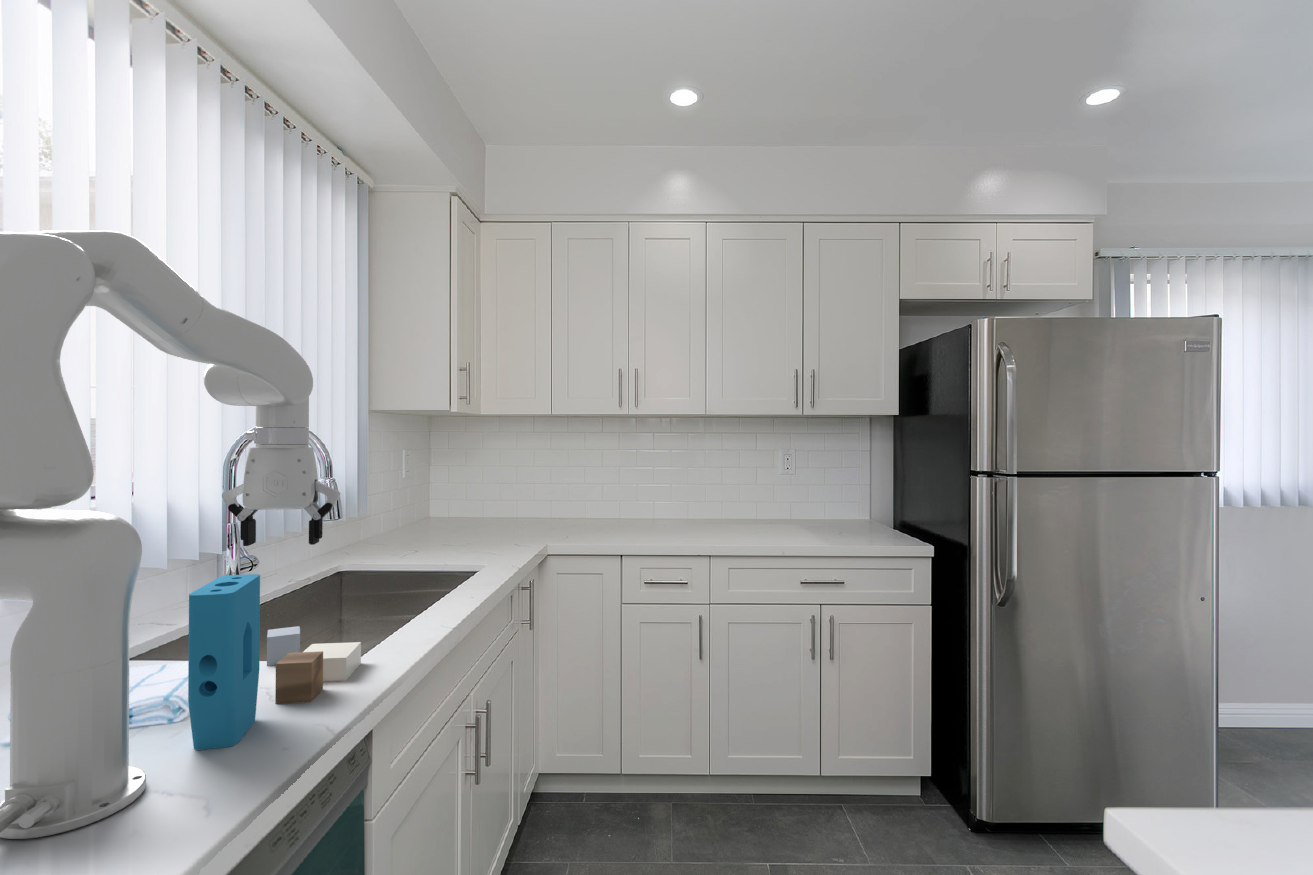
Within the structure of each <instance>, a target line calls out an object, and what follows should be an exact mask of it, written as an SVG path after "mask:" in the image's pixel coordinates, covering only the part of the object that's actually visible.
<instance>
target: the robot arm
mask: <svg viewBox="0 0 1313 875" xmlns="http://www.w3.org/2000/svg"><path fill="white" fill-rule="evenodd" d="M86 307H96V308H99V309H101V310H104V311H106V312H107V313H109V314H110V315H111V316H113V317H114V318H115V319H117V320H118V321H120V322H121V323H123V324H124V325H125V326H126V327H128V328H129V329H131V330H132V331H133V332H135V333H136V334H138V336H140V337H142V338H143V339H145V341H147V342H148V343H150V344H151V345H152V346H153V347H155V348H156V349H157V350H159V351H161V352H163V353H165V354H168V355H170V356H172V357H173V356H174V357H176V358H180V359H184V360H187V361H191V362H192V361H193V362H197V363H201V364H202V363H203V364H208V365H207V368H206V369H205V371H204V375H203V383H204V384H203V385H204V388H205V390H206V392H207V393H208V394H209V396H210V397H212V399H214V400H215V401H216V402H217V401H218V403H221V404H224V405H228V406H238V407H240V406H241V407H245V406H246V407H255V427H254V429H253V430H252V431H247V432H246V434H245V438H246V440H250V441H253V444H255V446H253V447H252V446H251V447H249V449H248V451H247V457H246V461H245V462H246V463H245V468H244V474H243V482H242V484H239V485H237V486H235V487H233V488H231V489H229V490H227V491H225V492H223V493H222V494H221V498H222V499H223V502H224V503H225V505H226V506H227V509H228V511H229V512H231V513H232V515H234V516H235V517H236V519H237V521H238V522H239V523H240V525H239V526H240V532H239V533H240V540H241V541H242V546H243V547H249V546H251V545H253V544H256V542H257V521H256V519H255V518H254V516H255V514H256V513H257V512H258V511H263V510H265V511H267V510H269V511H272V510H273V511H275V510H276V511H279V510H303V509H304V510H305V512H307V514H308V515H309V516H310V517H311V519H309V521H308V544H309V545H316V544H318V543H320V539H322V538H323V527H324V526H323V524H324V523H323V521H324V518H325V517H326V515H328V514H329V513H330V512H331V511H332V510H333V509H334V507H335V505H336V504H337V502H338V500H339V498H340V497H341V492H340V490H337V489H334V488H332V487H330V486H328V485H326V484H324V483H322V482H320V481H319V478H318V476H319V474H318V467H317V461H316V456H315V455H316V454H315V450H314V447H313V446H311V447H310V446H309V444H310V441H309V439H310V434H309V433H310V428H309V427H310V396H311V394H312V392H313V388H314V377H313V373H312V371H311V368H310V367H309V365H308V363H307V361H306V360H305V359H304V358H303V357H302V355H301V354H300V353H299V352H298V351H297V350H296V349H295V348H294V347H293V346H292V345H291V344H290V343H289V342H288V341H286V340H285V339H284V338H283V337H281V335H279V334H277V333H276V332H274V331H272V330H270V329H268V328H266V327H264V326H262V325H259V324H257V323H255V322H253V321H251V320H248V319H247V318H243V317H242V316H240V315H237V314H235V313H232V312H230V311H228V310H225V309H223V308H220V307H218V306H216V305H214V304H212V303H211V302H210V301H208V300H207V299H206V298H205V297H203V295H202V294H201V293H200V292H198V291H197V290H196V289H195V288H194V286H192V285H191V284H190V283H188V282H187V281H186V280H185V279H184V278H183V277H182V276H180V275H179V274H178V273H177V272H176V271H175V270H174V268H172V267H171V266H170V265H169V264H167V262H165V261H164V259H162V258H161V257H160V255H158V254H157V253H156V252H154V251H153V249H151V248H150V247H149V246H148V245H147V244H145V243H144V242H142V241H141V240H139V239H138V238H136V237H134V236H132V235H130V234H127V233H124V232H119V231H115V230H40V231H39V230H37V231H23V232H21V231H20V232H18V231H16V232H15V231H3V232H2V231H0V600H13V601H14V600H15V601H17V600H22V601H29V602H32V606H31V608H30V610H29V611H28V613H27V615H26V616H25V618H24V620H23V621H22V623H21V624H20V627H19V628H18V630H17V632H16V634H15V636H14V639H13V640H12V641H13V642H12V645H11V648H10V659H9V660H10V664H9V668H10V697H9V699H10V707H9V708H10V710H9V711H10V713H9V714H10V716H9V717H10V718H9V720H10V724H9V725H10V726H9V727H10V730H9V732H10V733H9V734H10V735H9V737H10V738H9V742H10V743H9V745H10V746H9V747H10V748H9V786H8V787H6V788H5V789H4V799H3V800H2V801H1V802H0V838H2V839H8V840H28V839H34V838H36V839H37V838H43V837H48V836H52V835H53V836H54V835H57V834H60V833H65V832H68V831H72V830H75V829H78V828H81V827H85V826H88V825H91V824H93V823H96V822H98V821H101V820H103V819H105V818H107V817H108V816H109V817H110V816H111V815H113V814H115V813H117V812H119V811H120V810H123V809H124V808H125V807H127V806H128V805H131V803H133V802H134V801H136V799H138V798H139V797H140V796H141V795H142V793H143V792H144V791H145V789H146V786H147V774H146V773H145V771H144V770H142V769H140V768H138V767H136V766H135V767H134V766H132V765H129V764H130V763H129V762H130V761H129V760H130V759H129V757H130V756H129V755H130V749H129V748H130V627H131V626H130V625H131V610H132V602H133V596H134V590H135V585H136V582H137V577H138V574H139V571H140V567H141V561H142V553H143V547H142V546H143V545H142V544H143V543H142V540H141V537H140V534H139V533H138V531H137V529H136V528H135V527H134V526H133V525H132V524H131V523H129V522H128V521H127V520H125V519H123V518H121V517H119V516H117V515H115V514H111V513H106V512H101V511H96V510H95V511H94V510H87V509H84V510H82V509H79V510H78V509H75V510H74V509H55V508H58V507H63V506H67V505H69V504H72V503H74V502H76V501H77V500H79V499H81V498H82V497H83V496H85V495H86V494H87V492H88V491H89V489H90V488H91V487H92V485H93V481H94V473H95V472H94V465H93V460H92V457H91V456H92V455H91V453H90V449H89V447H88V443H87V441H86V439H85V436H84V433H83V431H82V428H81V426H80V423H79V420H78V417H77V415H76V412H75V408H74V407H73V403H72V401H71V399H70V397H69V393H68V391H67V387H66V384H65V383H66V382H65V381H64V377H63V374H62V370H61V367H62V366H61V353H62V349H63V347H64V342H65V340H66V337H67V335H68V334H69V331H70V330H71V327H72V326H73V325H74V323H75V322H76V320H77V319H78V318H79V316H80V315H81V313H83V311H84V310H85V309H86ZM319 493H320V494H322V495H325V496H326V497H327V499H326V502H325V503H324V504H323V505H322V506H320V505H319V504H318V502H319ZM239 495H242V504H243V505H242V504H241V503H239V502H238V499H237V497H238V496H239Z"/></svg>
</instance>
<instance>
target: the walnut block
mask: <svg viewBox="0 0 1313 875" xmlns="http://www.w3.org/2000/svg"><path fill="white" fill-rule="evenodd" d="M323 690H324V681H323V651H321V652H303V651H300V652H297V653H288V654H287V655H286V656H285V657H283V658H282V659H281V660H280V661H279V662H277V663H276V665H275V696H274V698H275V700H274V701H275V704H276V705H280V704H281V705H283V704H284V705H285V704H299V703H300V704H301V703H312V702H313V701H314V700H315V699H316V698H317V696H318V695H319V694H320V693H321V692H322V691H323Z"/></svg>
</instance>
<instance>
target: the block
mask: <svg viewBox="0 0 1313 875" xmlns="http://www.w3.org/2000/svg"><path fill="white" fill-rule="evenodd" d="M260 620H261V574H258V573H254V574H253V573H252V574H233V575H232V574H231V575H229V574H228V575H221V576H219V577H217V578H215V579H213V580H212V581H210V582H208V583H206V584H205V585H203V586H201V587H199V588H197V589H196V590H194V591H192V592H190V593H189V594H188V662H187V663H188V668H187V669H188V672H187V674H188V675H187V676H188V677H187V679H188V683H187V684H188V685H187V686H188V688H187V689H188V690H187V693H188V694H187V701H188V703H187V704H188V711H189V718H190V719H189V720H190V727H191V737H192V744H193V745H192V746H193V749H194V750H195V751H199V750H200V751H201V750H212V749H220V748H229V747H230V748H231V747H233V746H236V745H237V744H239V743H240V741H241V740H242V739H243V737H244V736H245V735H246V734H247V732H248V731H249V730H250V728H251V727H252V725H253V724H254V723H255V721H256V716H257V715H256V714H257V703H258V702H257V700H258V691H259V690H258V687H259V680H260V679H259V677H260V654H261V653H260V640H261V639H260V637H261V635H260V634H261V633H260V632H261V631H260V630H261V627H260V624H261V623H260V622H261V621H260Z"/></svg>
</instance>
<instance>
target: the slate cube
mask: <svg viewBox="0 0 1313 875" xmlns="http://www.w3.org/2000/svg"><path fill="white" fill-rule="evenodd" d="M266 639H267V640H266V667H269V666H270V667H271V666H276V663H277V662H279V661H280V660H281V659H282V658H283V657H285V656H286V655H287V654H288V653H297V652H301V627H300V625H299V626H291V627H290V626H289V627H288V626H287V627H281V628H280V627H279V628H273V629H267V635H266Z"/></svg>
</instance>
